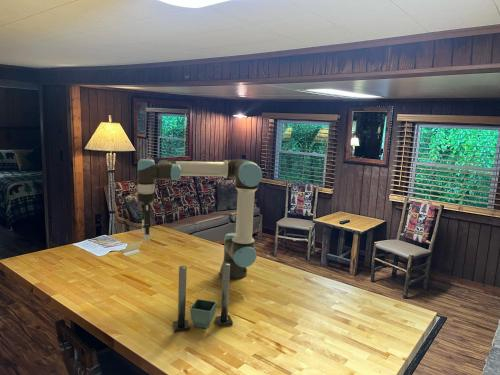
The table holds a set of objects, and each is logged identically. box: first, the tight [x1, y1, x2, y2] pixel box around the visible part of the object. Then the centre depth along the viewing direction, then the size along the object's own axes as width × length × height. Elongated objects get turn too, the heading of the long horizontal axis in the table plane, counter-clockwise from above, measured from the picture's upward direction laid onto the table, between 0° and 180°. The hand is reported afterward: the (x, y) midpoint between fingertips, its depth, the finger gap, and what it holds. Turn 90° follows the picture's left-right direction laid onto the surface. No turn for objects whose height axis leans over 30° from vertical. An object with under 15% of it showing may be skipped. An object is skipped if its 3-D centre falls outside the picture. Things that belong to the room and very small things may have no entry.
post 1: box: [172, 265, 191, 333], centre depth 156 cm, size 6×6×26 cm
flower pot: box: [189, 298, 217, 329], centre depth 160 cm, size 9×9×9 cm
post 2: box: [214, 262, 234, 328], centre depth 162 cm, size 6×6×26 cm
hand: (145, 236), depth 184 cm, fingers open, 13 cm apart
